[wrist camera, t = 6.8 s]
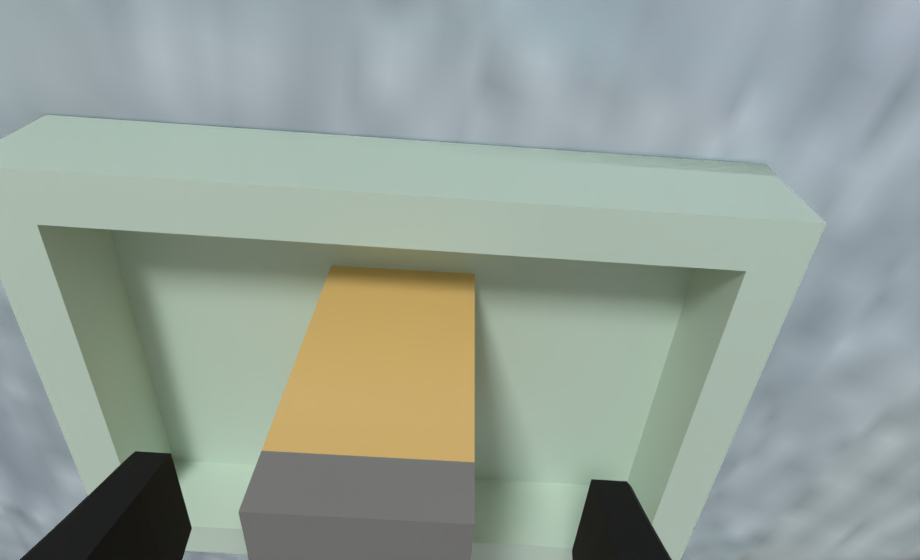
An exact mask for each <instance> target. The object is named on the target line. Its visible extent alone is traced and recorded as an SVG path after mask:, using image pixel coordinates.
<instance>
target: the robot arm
mask: <svg viewBox="0 0 920 560" xmlns="http://www.w3.org/2000/svg"><path fill="white" fill-rule="evenodd" d="M191 530H192V527H191V523H190V519H189V516H188V512H187V509H186V505H185V501H184V498H183V494H182V491H181V487H180V484H179V480H178V476H177V473H176V469H175V466H174V462H173V458H172V455H171V453H156V452H140V451H135V452H134V453H133V454H131V455H130V456H129V457H128V458H127V459H126V460H125V461H124V462H123V463H122V464H121V465H120V466H118V467H117V468H116V469H115V470H114V471H113V472H112V473H111V474H110V475H109V476H108V477H107V478H106V479H105V480H104V481H103V482H102V483H101V484H100V485H99V486H98V487H97V488H96V489H95V490H94V491H93V492H91V493H90V494H89V495H88V496H87V497H86V498H85V499H84V500H83V501H82V502H81V503H80V504H79V505H78V506H77V507H76V508H75V509H74V510H73V511H72V512H71V513H70V514H68V515H67V516H66V517H65V518H64V519H63V520H62V521H61V522H60V523H59V524H58V525H57V526H56V527H55V528H54V529H53V530H52V531H50V532H49V533H48V534H47V535H46V536H45V537H44V538H43V539H42V540H41V541H40V542H38V543H37V544H36V545H35V546H34V547H33V548H32V549H31V550H30V551H29V552H28V553H27V554H25V555H24V556H23V557H22V558H21V559H20V560H182V558H183V555H184V552H185V549H186V546H187V542H188V539H189V536H190V533H191ZM572 558H573V560H672V559H671V557H670V556H669V554H668V552H667V551H666V549H665V547H664V545H663V544H662V542H661V540H660V538H659V537H658V535H657V533H656V531H655V530H654V528H653V526H652V524H651V522H650V521H649V519H648V517H647V515H646V513H645V511H644V509H643V508H642V506H641V504H640V502H639V500H638V498H637V496H636V494H635V492H634V491H633V489H632V487H631V485H630V484H629V483H628V482H627V481H613V480H597V479H591V482H590V486H589V490H588V493H587V497H586V501H585V504H584V508H583V512H582V516H581V519H580V523H579V527H578V530H577V534H576V538H575V541H574V545H573V549H572Z"/></svg>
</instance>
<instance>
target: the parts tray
mask: <svg viewBox="0 0 920 560" xmlns="http://www.w3.org/2000/svg"><path fill="white" fill-rule="evenodd" d="M826 224H827V223H826V222H825V221H824V220H823V219H822V218H821V217H820V216H819V215H818V214H817V213H816V212H815V211H814V210H813V209H812V208H811V207H810V206H808V205H807V204H806V203H805V202H804V201H803V200H802V199H801V198H800V197H799V196H798V195H797V194H796V193H795V192H794V191H793V190H792V189H791V188H790V187H789V186H788V185H787V184H786V183H785V182H783V181H782V180H781V179H780V178H779V177H778V176H777V175H776V174H775V173H774V172H773V171H772V170H771V169H770V168H769V167H768V166H767V165H766V164H755V163H740V162H726V161H711V160H697V159H682V158H667V157H653V156H638V155H624V154H609V153H594V152H580V151H565V150H551V149H536V148H522V147H507V146H492V145H478V144H463V143H449V142H434V141H419V140H405V139H390V138H376V137H361V136H347V135H332V134H317V133H303V132H288V131H274V130H259V129H245V128H230V127H215V126H201V125H186V124H172V123H157V122H142V121H128V120H113V119H99V118H84V117H70V116H55V115H45V116H43V117H42V118H40V119H38V120H36V121H34V122H32V123H30V124H28V125H27V126H25V127H23V128H21V129H19V130H17V131H15V132H14V133H12V134H10V135H8V136H6V137H4V138H2V139H0V280H1V282H2V285H3V287H4V290H5V292H6V295H7V297H8V299H9V302H10V304H11V307H12V309H13V312H14V314H15V317H16V319H17V322H18V324H19V327H20V329H21V331H22V334H23V336H24V339H25V341H26V344H27V346H28V349H29V351H30V354H31V356H32V359H33V361H34V364H35V366H36V368H37V371H38V373H39V376H40V378H41V381H42V383H43V386H44V388H45V391H46V393H47V396H48V398H49V401H50V403H51V405H52V408H53V410H54V413H55V415H56V418H57V420H58V423H59V425H60V428H61V430H62V433H63V435H64V437H65V440H66V442H67V445H68V447H69V450H70V452H71V455H72V457H73V460H74V462H75V465H76V467H77V470H78V472H79V474H80V477H81V479H82V482H83V484H84V487H85V489H86V492H87V494H88V495H89V494H90V493H91V492H93V491H94V490H95V489H96V488H97V487H98V486H99V485H100V484H101V483H102V482H103V481H104V480H105V479H106V478H107V477H108V476H109V475H110V474H111V473H112V472H113V471H114V470H115V469H116V468H117V467H118V466H120V465H121V464H122V463H123V462H124V461H125V460H126V459H127V458H128V457H129V456H130V455H131V454H133V453H134V452H135V451H140V452H156V453H171V455H172V458H173V462H174V466H175V469H176V473H177V476H178V480H179V484H180V487H181V491H182V494H183V498H184V501H185V505H186V509H187V512H188V516H189V519H190V523H191V527H192V530H191V533H190V536H189V539H188V542H187V546H186V549H185V551H199V552H216V553H234V554H248V553H247V549H246V544H245V540H244V535H243V531H242V526H241V521H240V517H239V512H238V511H239V509H240V506H241V504H242V501H243V498H244V496H245V493H246V490H247V488H248V485H249V482H250V480H251V477H252V474H253V472H254V469H255V466H256V464H257V461H258V459H259V456H260V453H261V451H262V448H263V445H264V443H265V440H266V437H267V435H268V432H269V429H270V427H271V424H272V421H273V419H274V416H275V414H276V411H277V408H278V406H279V403H280V400H281V398H282V395H283V392H284V390H285V387H286V384H287V382H288V379H289V376H290V374H291V371H292V369H293V366H294V363H295V361H296V358H297V355H298V353H299V350H300V347H301V345H302V342H303V339H304V337H305V334H306V331H307V329H308V326H309V324H310V321H311V318H312V316H313V313H314V310H315V308H316V305H317V302H318V300H319V297H320V294H321V292H322V289H323V286H324V284H325V281H326V279H327V276H328V273H329V271H330V268H331V266H348V267H365V268H382V269H399V270H416V271H434V272H451V273H468V274H475V524H474V533H473V542H472V552H471V560H573V558H572V549H573V545H574V541H575V538H576V534H577V530H578V527H579V523H580V519H581V516H582V512H583V508H584V504H585V501H586V497H587V493H588V490H589V486H590V482H591V479H597V480H613V481H627V482H628V483H629V484H630V485H631V487H632V489H633V491H634V492H635V494H636V496H637V498H638V500H639V502H640V504H641V506H642V508H643V509H644V511H645V513H646V515H647V517H648V519H649V521H650V522H651V524H652V526H653V528H654V530H655V531H656V533H657V535H658V537H659V538H660V540H661V542H662V544H663V545H664V547H665V549H666V551H667V552H668V554H669V556H670V557H671V559H672V560H681V557H682V555H683V553H684V551H685V548H686V546H687V544H688V541H689V539H690V537H691V534H692V532H693V530H694V527H695V525H696V523H697V521H698V518H699V516H700V514H701V511H702V509H703V507H704V504H705V502H706V500H707V498H708V495H709V493H710V491H711V488H712V486H713V484H714V481H715V479H716V477H717V475H718V472H719V470H720V468H721V465H722V463H723V461H724V458H725V456H726V454H727V452H728V449H729V447H730V445H731V442H732V440H733V438H734V435H735V433H736V431H737V428H738V426H739V424H740V422H741V419H742V417H743V415H744V412H745V410H746V408H747V405H748V403H749V401H750V399H751V396H752V394H753V392H754V389H755V387H756V385H757V382H758V380H759V378H760V376H761V373H762V371H763V369H764V366H765V364H766V362H767V359H768V357H769V355H770V353H771V350H772V348H773V346H774V343H775V341H776V339H777V336H778V334H779V332H780V329H781V327H782V325H783V323H784V320H785V318H786V316H787V313H788V311H789V309H790V306H791V304H792V302H793V300H794V297H795V295H796V293H797V290H798V288H799V286H800V283H801V281H802V279H803V277H804V274H805V272H806V270H807V267H808V265H809V263H810V260H811V258H812V256H813V254H814V251H815V249H816V247H817V244H818V242H819V240H820V237H821V235H822V233H823V230H824V228H825V226H826Z"/></svg>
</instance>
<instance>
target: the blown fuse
mask: <svg viewBox="0 0 920 560" xmlns="http://www.w3.org/2000/svg"><path fill="white" fill-rule="evenodd" d="M238 512H239V517H240V521H241V526H242V531H243V535H244V540H245V544H246V549H247V553H248V558H249V560H471V552H472V542H473V533H474V524H475V274H468V273H451V272H434V271H416V270H399V269H382V268H365V267H348V266H331V268H330V271H329V273H328V276H327V279H326V281H325V284H324V286H323V289H322V292H321V294H320V297H319V300H318V302H317V305H316V308H315V310H314V313H313V316H312V318H311V321H310V324H309V326H308V329H307V331H306V334H305V337H304V339H303V342H302V345H301V347H300V350H299V353H298V355H297V358H296V361H295V363H294V366H293V369H292V371H291V374H290V376H289V379H288V382H287V384H286V387H285V390H284V392H283V395H282V398H281V400H280V403H279V406H278V408H277V411H276V414H275V416H274V419H273V421H272V424H271V427H270V429H269V432H268V435H267V437H266V440H265V443H264V445H263V448H262V451H261V453H260V456H259V459H258V461H257V464H256V466H255V469H254V472H253V474H252V477H251V480H250V482H249V485H248V488H247V490H246V493H245V496H244V498H243V501H242V504H241V506H240V509H239V511H238Z"/></svg>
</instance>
